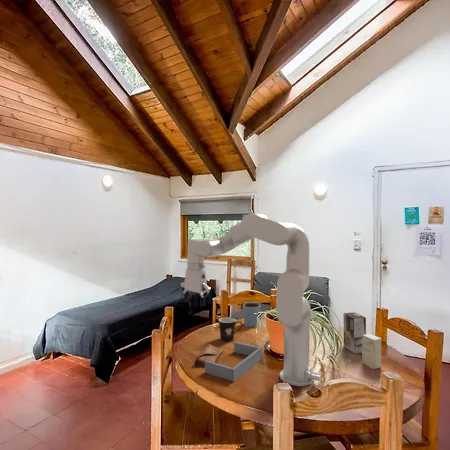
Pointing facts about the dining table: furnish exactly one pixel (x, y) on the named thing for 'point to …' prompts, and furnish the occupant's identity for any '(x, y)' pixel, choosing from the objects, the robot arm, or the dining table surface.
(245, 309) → the blue-grey cylindrical container
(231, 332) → the coffee mug
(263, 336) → the dining table surface
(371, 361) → the skincare box
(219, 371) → the bin
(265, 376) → the dining table surface
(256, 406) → the dining table surface
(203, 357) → the sunglasses case
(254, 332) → the dining table surface
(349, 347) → the coffee box
